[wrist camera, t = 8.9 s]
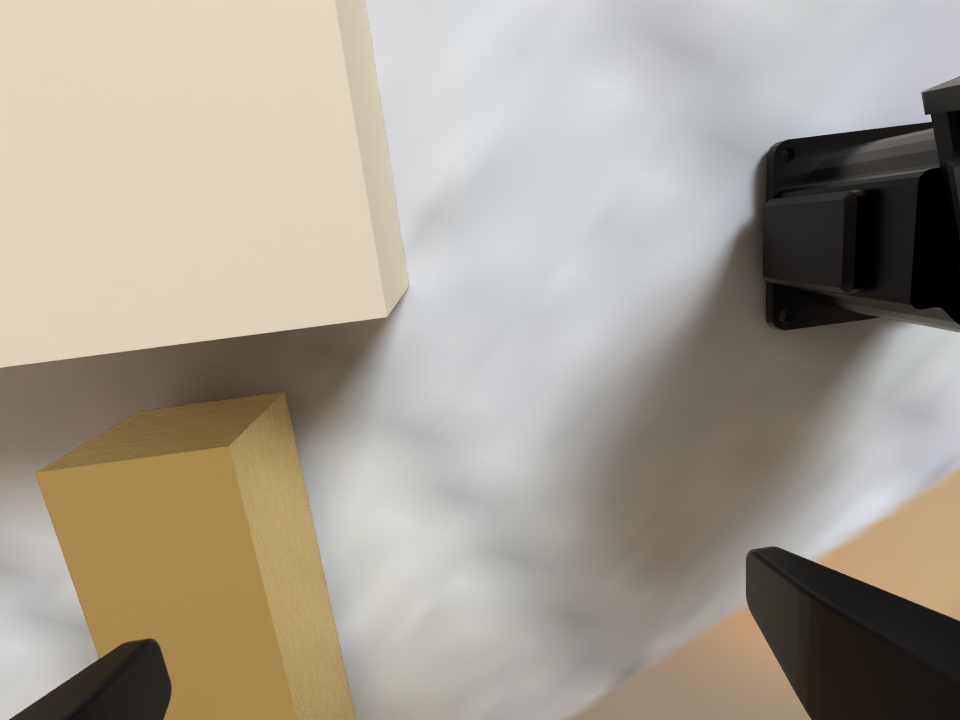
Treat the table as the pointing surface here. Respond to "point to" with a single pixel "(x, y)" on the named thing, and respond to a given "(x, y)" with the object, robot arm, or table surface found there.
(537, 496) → the table surface
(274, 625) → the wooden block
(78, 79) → the block
